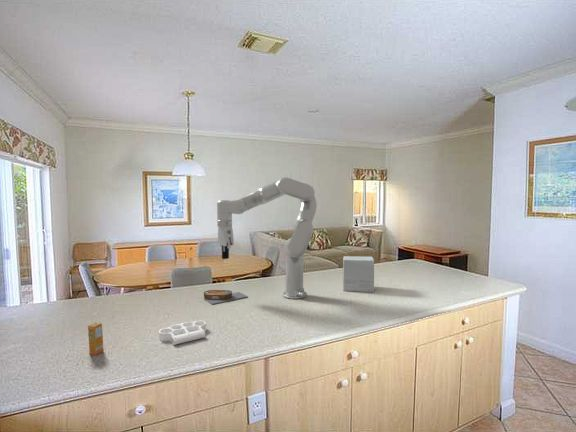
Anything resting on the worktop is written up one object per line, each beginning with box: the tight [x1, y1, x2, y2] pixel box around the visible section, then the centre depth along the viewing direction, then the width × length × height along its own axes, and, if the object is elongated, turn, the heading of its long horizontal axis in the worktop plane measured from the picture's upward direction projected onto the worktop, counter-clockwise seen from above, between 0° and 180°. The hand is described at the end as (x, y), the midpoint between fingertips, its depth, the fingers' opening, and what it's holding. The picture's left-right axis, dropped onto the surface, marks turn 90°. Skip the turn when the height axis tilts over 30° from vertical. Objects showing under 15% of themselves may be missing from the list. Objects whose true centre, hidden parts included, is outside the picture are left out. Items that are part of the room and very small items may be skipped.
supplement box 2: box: [342, 255, 375, 293], centre depth 189 cm, size 17×13×18 cm
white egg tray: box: [158, 320, 207, 346], centre depth 125 cm, size 3×18×15 cm
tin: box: [203, 289, 233, 300], centre depth 172 cm, size 15×3×8 cm
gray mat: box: [204, 291, 249, 306], centre depth 171 cm, size 10×20×1 cm, turn 126°
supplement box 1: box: [87, 322, 104, 356], centre depth 111 cm, size 3×3×10 cm
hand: (225, 258), depth 171 cm, fingers closed
